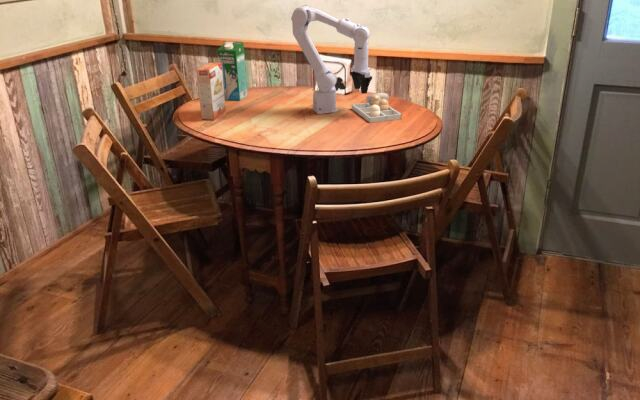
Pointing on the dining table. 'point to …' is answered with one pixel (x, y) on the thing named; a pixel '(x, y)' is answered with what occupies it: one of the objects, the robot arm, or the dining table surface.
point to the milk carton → (233, 70)
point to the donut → (382, 95)
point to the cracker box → (211, 90)
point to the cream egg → (374, 111)
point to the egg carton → (386, 115)
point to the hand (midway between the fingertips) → (360, 91)
